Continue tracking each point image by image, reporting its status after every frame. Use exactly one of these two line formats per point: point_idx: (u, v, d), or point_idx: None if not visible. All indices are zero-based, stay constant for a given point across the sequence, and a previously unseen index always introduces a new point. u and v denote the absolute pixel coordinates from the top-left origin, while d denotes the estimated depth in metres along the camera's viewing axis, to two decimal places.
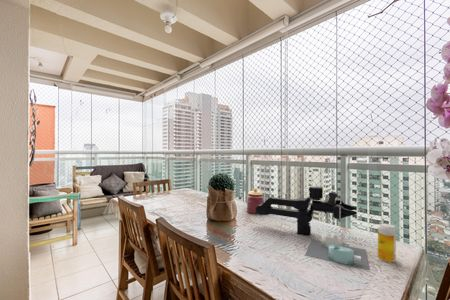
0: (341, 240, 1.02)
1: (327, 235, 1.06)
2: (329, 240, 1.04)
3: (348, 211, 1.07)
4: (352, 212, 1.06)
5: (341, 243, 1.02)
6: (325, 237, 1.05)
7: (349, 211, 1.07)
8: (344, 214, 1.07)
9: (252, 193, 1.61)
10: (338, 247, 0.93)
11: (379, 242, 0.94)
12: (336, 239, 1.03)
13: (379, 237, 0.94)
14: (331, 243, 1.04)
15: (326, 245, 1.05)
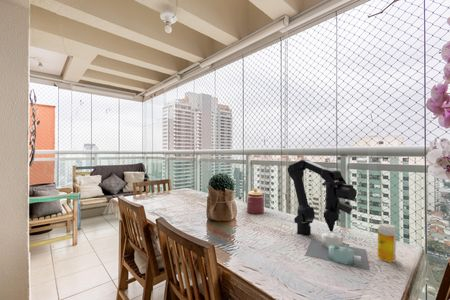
0: (341, 240, 1.02)
1: (327, 235, 1.06)
2: (329, 240, 1.04)
3: (332, 224, 1.00)
4: (331, 227, 1.01)
5: (341, 243, 1.02)
6: (325, 237, 1.05)
7: (332, 225, 1.00)
8: (328, 220, 1.01)
9: (252, 193, 1.61)
10: (338, 247, 0.93)
11: (379, 242, 0.94)
12: (336, 239, 1.03)
13: (379, 237, 0.94)
14: (331, 243, 1.04)
15: (326, 245, 1.05)
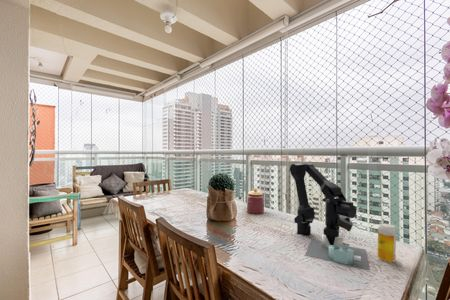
0: (341, 240, 1.02)
1: None
2: None
3: (333, 239, 1.02)
4: (332, 243, 1.03)
5: (341, 243, 1.02)
6: (325, 237, 1.05)
7: (333, 240, 1.02)
8: (328, 236, 1.03)
9: (252, 193, 1.61)
10: (338, 247, 0.93)
11: (379, 242, 0.94)
12: (336, 239, 1.03)
13: (379, 237, 0.94)
14: None
15: (326, 245, 1.05)
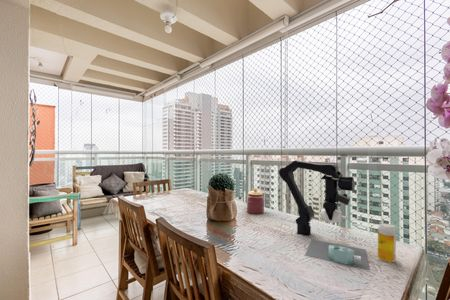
0: (339, 214, 1.10)
1: None
2: None
3: (331, 213, 1.10)
4: (331, 216, 1.10)
5: (339, 217, 1.10)
6: (324, 212, 1.12)
7: (331, 214, 1.10)
8: (327, 210, 1.10)
9: (252, 193, 1.61)
10: (338, 247, 0.93)
11: (379, 242, 0.94)
12: (335, 213, 1.10)
13: (379, 237, 0.94)
14: None
15: (325, 219, 1.12)
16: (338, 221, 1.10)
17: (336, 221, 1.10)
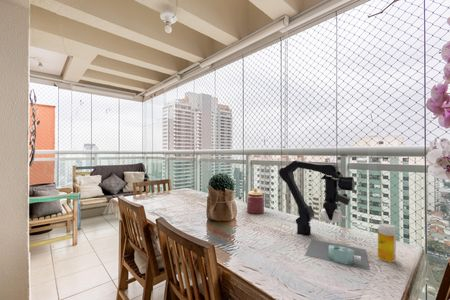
0: (339, 214, 1.10)
1: None
2: None
3: (331, 213, 1.10)
4: (331, 216, 1.10)
5: (339, 217, 1.10)
6: (324, 212, 1.13)
7: (331, 214, 1.10)
8: (327, 210, 1.10)
9: (252, 193, 1.61)
10: (338, 247, 0.93)
11: (379, 242, 0.94)
12: (335, 213, 1.10)
13: (379, 237, 0.94)
14: None
15: (325, 219, 1.12)
16: (338, 221, 1.10)
17: (336, 221, 1.10)
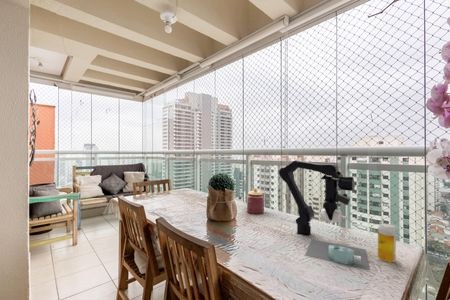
0: (339, 214, 1.10)
1: None
2: None
3: (331, 213, 1.10)
4: (331, 216, 1.10)
5: (339, 217, 1.10)
6: (324, 212, 1.13)
7: (331, 214, 1.10)
8: (327, 210, 1.10)
9: (252, 193, 1.61)
10: (338, 247, 0.93)
11: (379, 242, 0.94)
12: (335, 213, 1.10)
13: (379, 237, 0.94)
14: None
15: (325, 219, 1.12)
16: (338, 221, 1.10)
17: (336, 221, 1.10)
